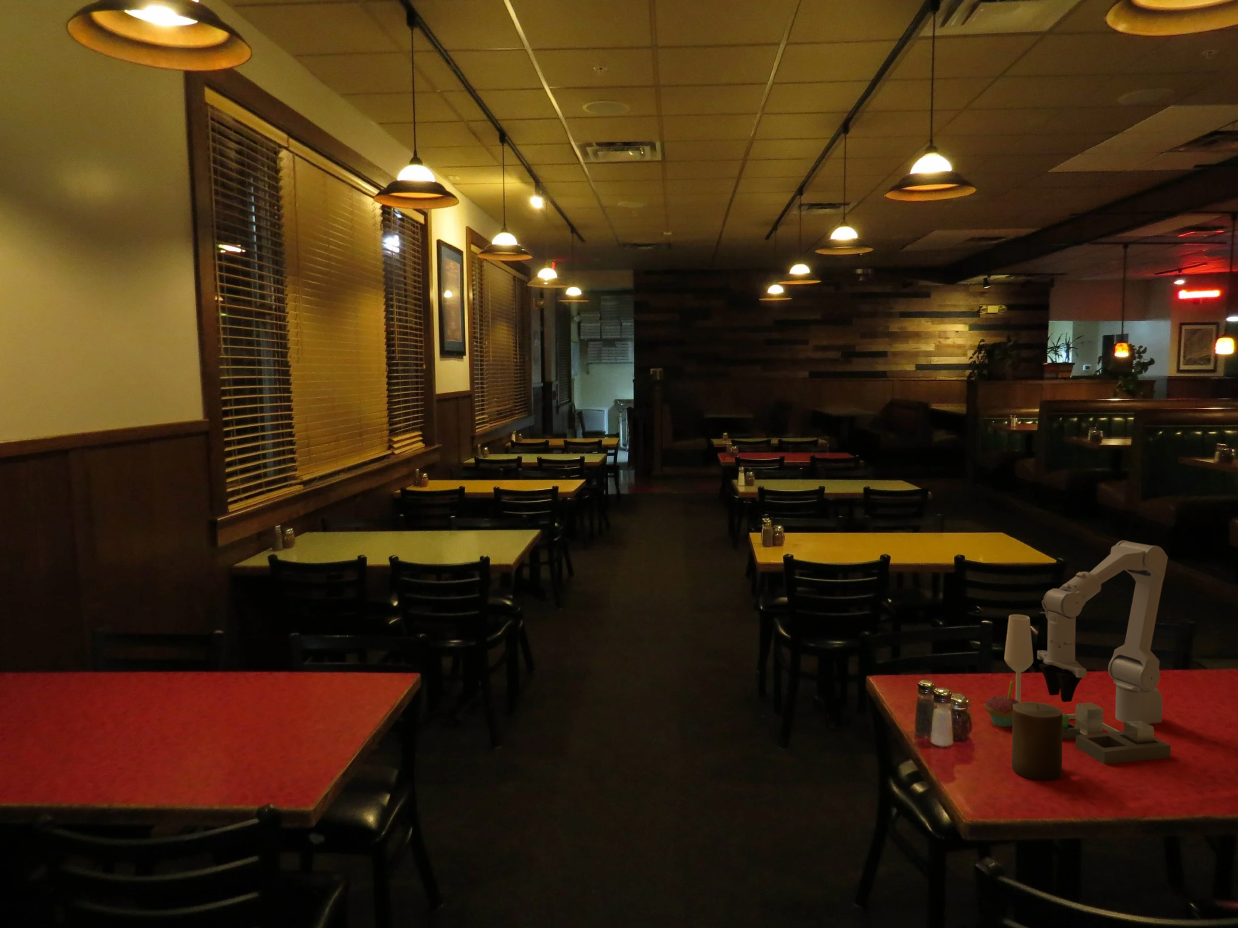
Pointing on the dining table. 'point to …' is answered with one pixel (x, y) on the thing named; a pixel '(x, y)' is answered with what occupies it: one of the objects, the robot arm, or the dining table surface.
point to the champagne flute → (1019, 647)
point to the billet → (1089, 718)
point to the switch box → (1070, 731)
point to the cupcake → (1001, 708)
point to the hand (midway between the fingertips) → (1060, 697)
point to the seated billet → (1138, 732)
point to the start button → (1065, 721)
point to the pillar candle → (1037, 741)
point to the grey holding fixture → (1120, 748)
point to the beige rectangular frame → (1105, 726)
